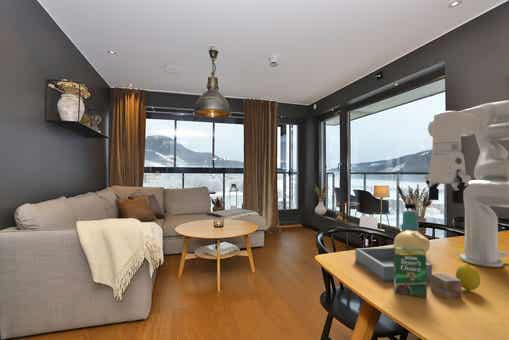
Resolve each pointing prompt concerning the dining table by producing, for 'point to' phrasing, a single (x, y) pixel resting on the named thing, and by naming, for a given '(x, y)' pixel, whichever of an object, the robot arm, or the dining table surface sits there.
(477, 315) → the dining table surface
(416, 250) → the coffee box
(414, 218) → the beverage bottle
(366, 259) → the tote
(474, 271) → the lemon
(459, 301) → the dining table surface
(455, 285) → the walnut cube
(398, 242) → the sculpture
